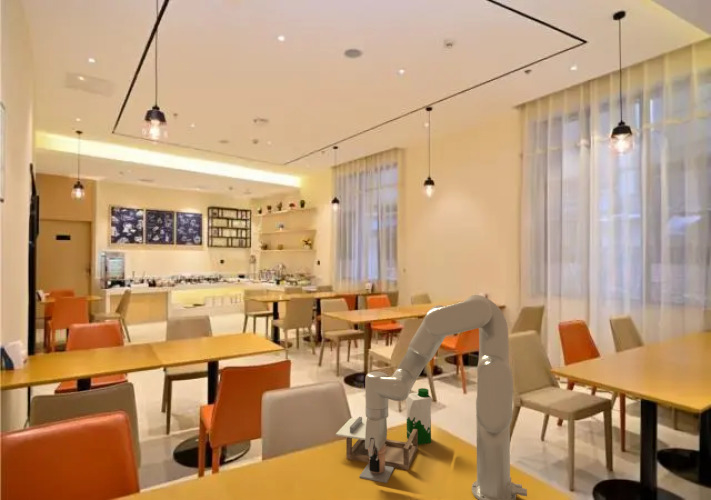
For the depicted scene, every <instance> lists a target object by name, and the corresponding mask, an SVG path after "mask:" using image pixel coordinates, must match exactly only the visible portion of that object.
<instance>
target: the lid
mask: <svg viewBox="0 0 711 500" xmlns="http://www.w3.org/2000/svg"><path fill="white" fill-rule="evenodd" d="M366 421H367V419H363V417H362V416H359V417H357V418H355V417H353V418H352V417H350V419H348V421H346V423H345V424H343V425H342V426H341V427H340V428H339V430H338V431H337V432H336V433H335V436H339V437H344V438H347V437H349V438H352V439H355V440H358V439H361V440H365V432H366Z"/></svg>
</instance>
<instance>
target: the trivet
mask: <svg viewBox="0 0 711 500" xmlns="http://www.w3.org/2000/svg"><path fill="white" fill-rule="evenodd" d="M394 469H395V467H390V466H385V471H384V472H382V473H373V472H371V471H370V470H369V463H368V462H367V464H366V466H365V467H364V469H363V471H362V472H361V473H360V475H359V478H360V479H364V480H370V481H375V482H380V483H384V484H387V483H388V481H389V479H390V478H391V476H392V474H393V471H394Z"/></svg>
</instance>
